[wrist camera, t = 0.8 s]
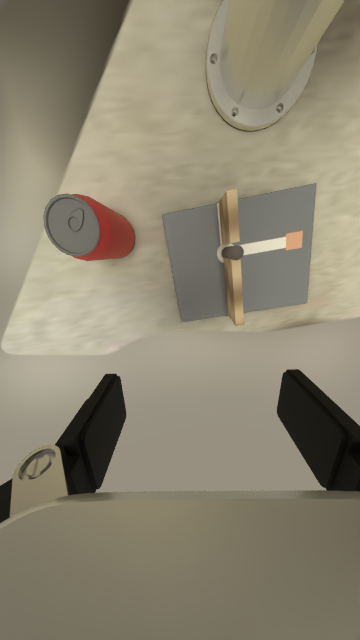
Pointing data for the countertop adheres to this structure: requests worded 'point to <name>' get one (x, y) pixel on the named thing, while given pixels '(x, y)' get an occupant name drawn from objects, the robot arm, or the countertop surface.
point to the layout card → (259, 253)
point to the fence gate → (234, 282)
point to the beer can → (87, 228)
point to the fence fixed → (229, 217)
